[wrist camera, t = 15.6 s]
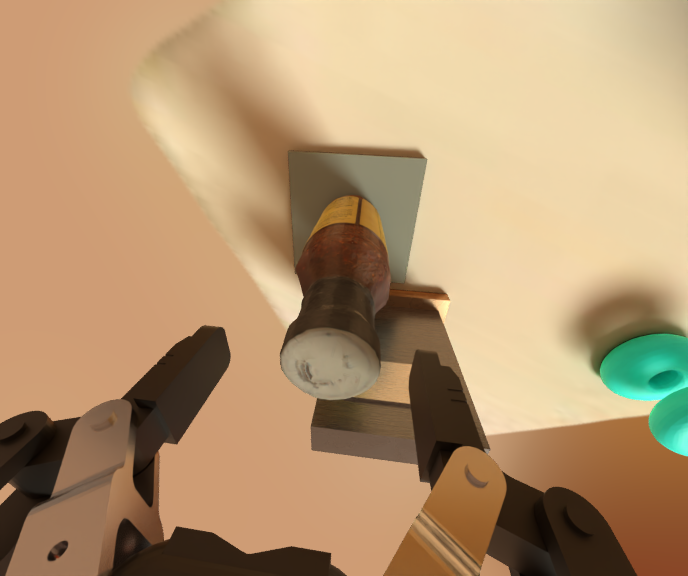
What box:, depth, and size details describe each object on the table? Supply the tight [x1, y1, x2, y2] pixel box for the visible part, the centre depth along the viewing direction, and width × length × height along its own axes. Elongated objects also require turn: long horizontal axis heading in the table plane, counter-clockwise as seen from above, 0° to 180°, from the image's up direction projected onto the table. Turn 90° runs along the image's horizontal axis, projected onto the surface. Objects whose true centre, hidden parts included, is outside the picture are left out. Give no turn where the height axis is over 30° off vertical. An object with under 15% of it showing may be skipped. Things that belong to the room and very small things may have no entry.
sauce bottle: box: [280, 195, 391, 400], centre depth 18 cm, size 6×6×20 cm
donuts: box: [600, 334, 688, 456], centre depth 29 cm, size 10×10×10 cm
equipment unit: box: [311, 289, 490, 465], centre depth 26 cm, size 14×6×18 cm, turn 87°
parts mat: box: [288, 151, 427, 283], centre depth 27 cm, size 13×13×1 cm
